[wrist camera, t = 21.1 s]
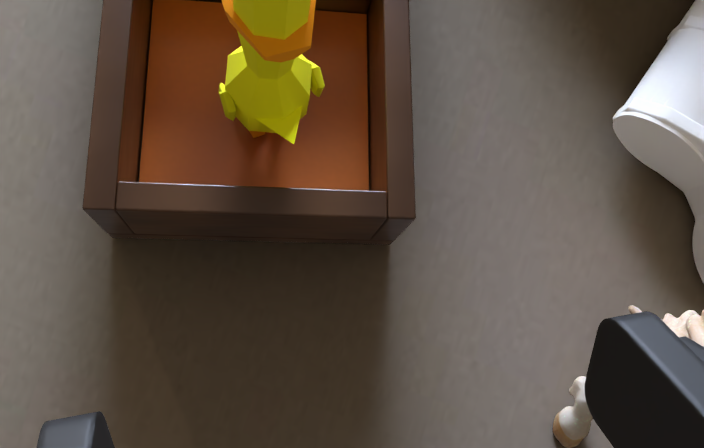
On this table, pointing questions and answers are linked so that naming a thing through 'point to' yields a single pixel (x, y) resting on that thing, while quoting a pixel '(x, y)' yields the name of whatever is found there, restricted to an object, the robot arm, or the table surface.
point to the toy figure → (270, 65)
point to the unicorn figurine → (577, 419)
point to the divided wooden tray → (237, 142)
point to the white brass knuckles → (673, 118)
